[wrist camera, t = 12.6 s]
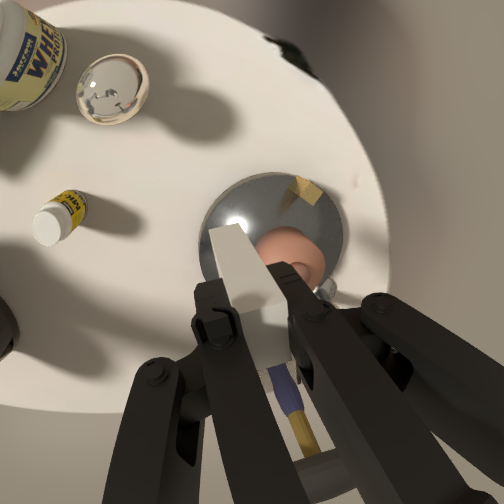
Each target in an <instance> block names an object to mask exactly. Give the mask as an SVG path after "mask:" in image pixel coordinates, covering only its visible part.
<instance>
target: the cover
mask: <svg viewBox="0 0 504 504" xmlns="http://www.w3.org/2000/svg"><path fill="white" fill-rule="evenodd" d="M254 248H255V250H256V251H257V253H258V255H259V256H260V258H261V259H262V261H263V263H264V264H265V265H269V264H273V263H277V262H281V261H284V262H286V263H288V264H290V265H292V266H293V267H294V268H295V270H296V271H297V272H298V274H299V275H300V276H301V277H302V280H304V281H305V282H306V284H307V285H308V286H309V288H310V289H311V290H312V291H313V290H314V289H315V288H316V287H317V286H318V284H319V283H320V281H321V280H322V277H323V275H324V272H325V259H324V256H323V254H322V252H321V251H320V250H319V248H318V247H317V246H316V245H315V244H314V243H313V242H312V241H311V240H309V239H308V238H307V237H306V236H305V235H304V234H303V233H302V232H301V231H300V230H298V229H296V228H294V227H290V226H281V227H276V228H273V229H271V230H269V231H268V232H266V233H265V234H264V235H262V236H261V237H260V239H259V240H258V241H257V243H256V245H255V247H254Z"/></svg>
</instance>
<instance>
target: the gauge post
mask: <svg viewBox="0 0 504 504" xmlns="http://www.w3.org/2000/svg"><path fill="white" fill-rule="evenodd" d="M314 294H315V295H316V297H317V298H318V299H319V300H325V301H327V302H330V303H331V304H332V305H333V306H335V308H336V309H340V308H339V307H338V305H337V304H336V303H335V302H334V300H333V299H332V298H333V297H334V294H335V284H334V283H333V282H332V280H331V279H329V278H328V279H327V280H326V281H325V283H324V284H323V285H322V286H321V287H320V288H319V289H318V290H317V291H316V292H315V293H314Z"/></svg>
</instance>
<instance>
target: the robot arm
mask: <svg viewBox="0 0 504 504" xmlns="http://www.w3.org/2000/svg"><path fill="white" fill-rule="evenodd" d="M209 234H210V239H211V243H212V248H213V252H214V256H215V260H216V265H217V269H218V273H219V277H220V278H219V279H215V280H211V281H207V282H203V283H199V284H197V286H196V288H195V290H194V299H195V306H196V314H195V316H194V317H193V318H192V322H191V327H192V330H193V333H194V335H195V338H196V340H197V343H198V346H197V347H196V349H195V350H194V351H193V352H192V353H191V354H189V355H188V356H186V357H184V358H182V359H180V360H178V361H176V362H175V361H173V360H171V359H170V358H165V357H158V358H153V359H151V360H149V361H147V362H145V363H144V364H143V365H142V366H140V367H139V369H138V371H137V373H136V375H135V378H134V381H133V384H132V387H131V390H130V394H129V397H128V400H127V404H126V407H125V410H124V414H123V417H122V421H121V425H120V428H119V432H118V435H117V440H116V443H115V447H114V451H113V455H112V459H111V463H110V467H109V472H108V476H107V481H106V485H105V490H104V495H103V500H102V504H199V489H200V474H201V461H202V449H203V438H204V427H205V418H206V417H208V416H210V415H212V418H213V423H214V427H215V432H216V436H217V441H218V445H219V449H220V453H221V457H222V461H223V465H224V468H225V473H226V476H227V480H228V484H229V487H230V491H231V494H232V498H233V501H234V504H311V503H310V501H309V499H308V496H307V494H306V492H305V490H304V487H303V485H302V483H301V480H300V478H299V476H298V473H297V471H296V469H295V466H294V464H293V461H292V459H291V457H290V454H289V452H288V449H287V447H286V445H285V442H284V440H283V437H282V435H281V432H280V430H279V427H278V425H277V422H276V420H275V417H274V415H273V412H272V409H271V407H270V404H269V402H268V399H267V396H266V394H265V391H264V388H263V386H262V383H261V380H260V378H259V375H258V372H257V371H260V370H263V369H266V368H270V367H273V366H276V365H279V364H282V363H285V362H289V361H292V358H291V352H292V354H293V356H294V358H295V360H296V372H297V382H298V384H301V380H302V382H303V384H304V386H305V388H306V390H307V392H308V394H309V396H310V398H311V400H312V402H313V404H314V406H315V408H316V410H317V412H318V414H319V416H320V418H321V420H322V422H323V424H324V426H325V427H326V430H327V432H328V433H329V435H330V437H331V439H332V441H333V443H334V445H335V447H336V449H337V451H338V453H339V455H340V457H341V459H342V461H343V463H344V465H345V467H346V468H347V470H348V472H349V474H350V476H351V478H352V480H353V482H354V484H355V486H356V488H357V489H358V491H359V493H360V495H361V497H362V499H363V501H364V502H365V504H498V503H497V501H496V500H495V499H494V498H493V497H492V496H491V495H490V494H488V493H486V492H484V491H478V490H473V489H472V488H470V487H469V486H468V485H467V484H466V482H465V481H464V479H463V478H462V476H461V475H460V473H459V472H458V470H457V469H456V467H455V466H454V464H453V463H452V461H451V460H450V459H449V457H448V456H447V454H446V453H445V451H444V450H443V448H442V447H441V446H440V444H439V443H438V441H437V440H436V439H435V437H434V436H433V434H432V433H431V432H433V433H434V434H435V435H436V436H438V437H439V438H440V439H441V440H443V441H444V442H445V443H446V444H447V445H449V446H450V447H451V448H452V449H453V450H455V451H456V452H457V453H458V454H460V455H461V456H462V457H463V458H465V459H466V460H467V461H469V462H470V463H471V464H472V465H473V466H475V467H476V468H477V469H479V470H480V471H481V472H482V473H484V474H485V475H486V476H488V477H489V478H490V479H491V480H493V481H494V482H496V483H498V484H499V485H500V486H503V487H504V366H502V365H501V364H499V363H498V362H496V361H495V360H493V359H492V358H490V357H489V356H487V355H486V354H484V353H483V352H481V351H480V350H478V349H477V348H475V347H474V346H472V345H471V344H469V343H468V342H466V341H465V340H463V339H461V338H460V337H458V336H457V335H455V334H454V333H452V332H450V331H449V330H448V329H446V328H445V327H443V326H441V325H440V324H438V323H437V322H435V321H433V320H432V319H430V318H429V317H427V316H425V315H424V314H422V313H420V312H419V311H417V310H416V309H414V308H412V307H411V306H409V305H408V304H406V303H404V302H402V301H401V300H399V299H398V298H396V297H394V296H392V295H390V294H388V293H372V294H370V295H368V296H366V297H365V298H364V299H363V300H362V304H361V307H358V308H349V309H336V308H335V306H333V305H332V304H331V303H330V302H327V301H325V300H319V299H318V298H317V297H316V295H315V294H314V293H313V291H312V290H311V289H310V288H309V286H308V285H307V284H306V282H305V281H304V280H302V277H301V276H300V275H299V274H298V272H297V271H296V270H295V268H294V267H293V266H292V265H290V264H288V263H286V262H284V261H281V262H277V263H273V264H269V265H265V264H264V263H263V261H262V259H261V258H260V256H259V255H258V253H257V251H256V250H255V248H254V247H253V245H252V243H251V242H250V240H249V239H248V237H247V235H246V234H245V232H244V231H243V229H242V227H241V226H240V224H239V223H234V224H230V225H226V226H222V227H218V228H213V229H209ZM18 340H19V329H18V325H17V322H16V320H15V318H14V316H13V314H12V312H11V310H10V309H9V307H8V306H7V305H6V303H5V302H4V301H3V300H2V299H1V298H0V361H1V360H3V359H4V358H5V357H6V356H7V355H8V354H9V353H11V352H12V351H13V350H14V348H15V346H16V344H17V342H18ZM392 347H393V348H394V349H393V348H392ZM395 349H396V350H395ZM430 431H431V432H430Z"/></svg>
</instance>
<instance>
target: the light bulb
mask: <svg viewBox="0 0 504 504" xmlns="http://www.w3.org/2000/svg"><path fill="white" fill-rule="evenodd" d="M148 93H149V76H148V73H147V70H146V69H145V67H144V65H143V64H142V63H141V62H140V61H139V60H137V59H136V58H134V57H132V56H130V55H127V54H110V55H106V56H103V57H101V58H99V59H97V60H96V61H94V62H93V63H92V64H90V65H89V66H88V67H87V68H86V70H85V71H84V72H83V74H82V75H81V77H80V79H79V81H78V84H77V88H76V102H77V106H78V108H79V110H80V112H81V113H82V114H83V116H84V117H85V118H87V119H88V120H89V121H91V122H93V123H96V124H99V125H115V124H119V123H121V122H124V121H126V120H128V119H129V118H131V117H133V116H134V115H135V114H136V113H137V112H138V111H139V110H140V108H141V107H142V106H143V104H144V102H145V101H146V99H147V96H148Z"/></svg>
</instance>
